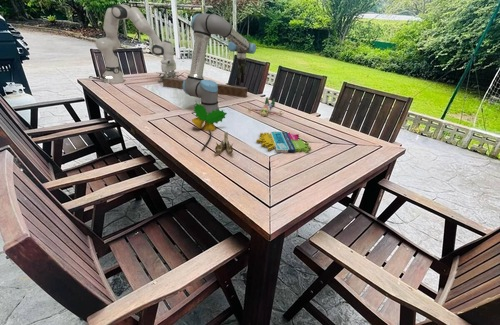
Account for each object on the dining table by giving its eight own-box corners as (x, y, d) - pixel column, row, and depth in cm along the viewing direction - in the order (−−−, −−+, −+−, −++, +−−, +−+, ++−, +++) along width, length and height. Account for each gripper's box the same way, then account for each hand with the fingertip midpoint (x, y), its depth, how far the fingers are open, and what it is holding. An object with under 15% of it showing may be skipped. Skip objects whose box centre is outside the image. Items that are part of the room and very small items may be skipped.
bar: (246, 96, 237) (247, 87, 234) (245, 97, 233) (245, 88, 229) (166, 85, 253) (165, 77, 249) (163, 86, 248) (162, 78, 244)
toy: (287, 99, 210) (283, 109, 184) (286, 108, 213) (282, 119, 187) (254, 95, 215) (245, 104, 189) (253, 104, 218) (244, 114, 192)
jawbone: (234, 135, 144) (233, 125, 135) (233, 160, 138) (232, 151, 129) (217, 135, 144) (216, 125, 135) (216, 160, 138) (214, 150, 129)
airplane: (150, 75, 286) (149, 65, 281) (179, 74, 299) (178, 64, 294) (157, 84, 258) (155, 73, 253) (188, 82, 271) (187, 72, 266)
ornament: (218, 133, 171) (224, 110, 169) (221, 134, 163) (227, 111, 161) (186, 125, 162) (192, 101, 160) (189, 126, 155) (195, 101, 153)
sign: (313, 150, 142) (258, 149, 139) (312, 153, 143) (258, 152, 140) (301, 132, 164) (254, 130, 161) (301, 134, 165) (254, 133, 162)
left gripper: (171, 58, 247) (172, 73, 254) (159, 61, 230) (160, 77, 236) (177, 59, 246) (178, 74, 253) (166, 62, 229) (167, 78, 235)
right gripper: (241, 56, 232) (239, 81, 242) (232, 59, 211) (231, 86, 221) (249, 57, 231) (247, 82, 241) (241, 60, 209) (240, 87, 219)
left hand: (169, 76), depth 245 cm, fingers open, 8 cm apart
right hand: (239, 84), depth 231 cm, fingers open, 13 cm apart
